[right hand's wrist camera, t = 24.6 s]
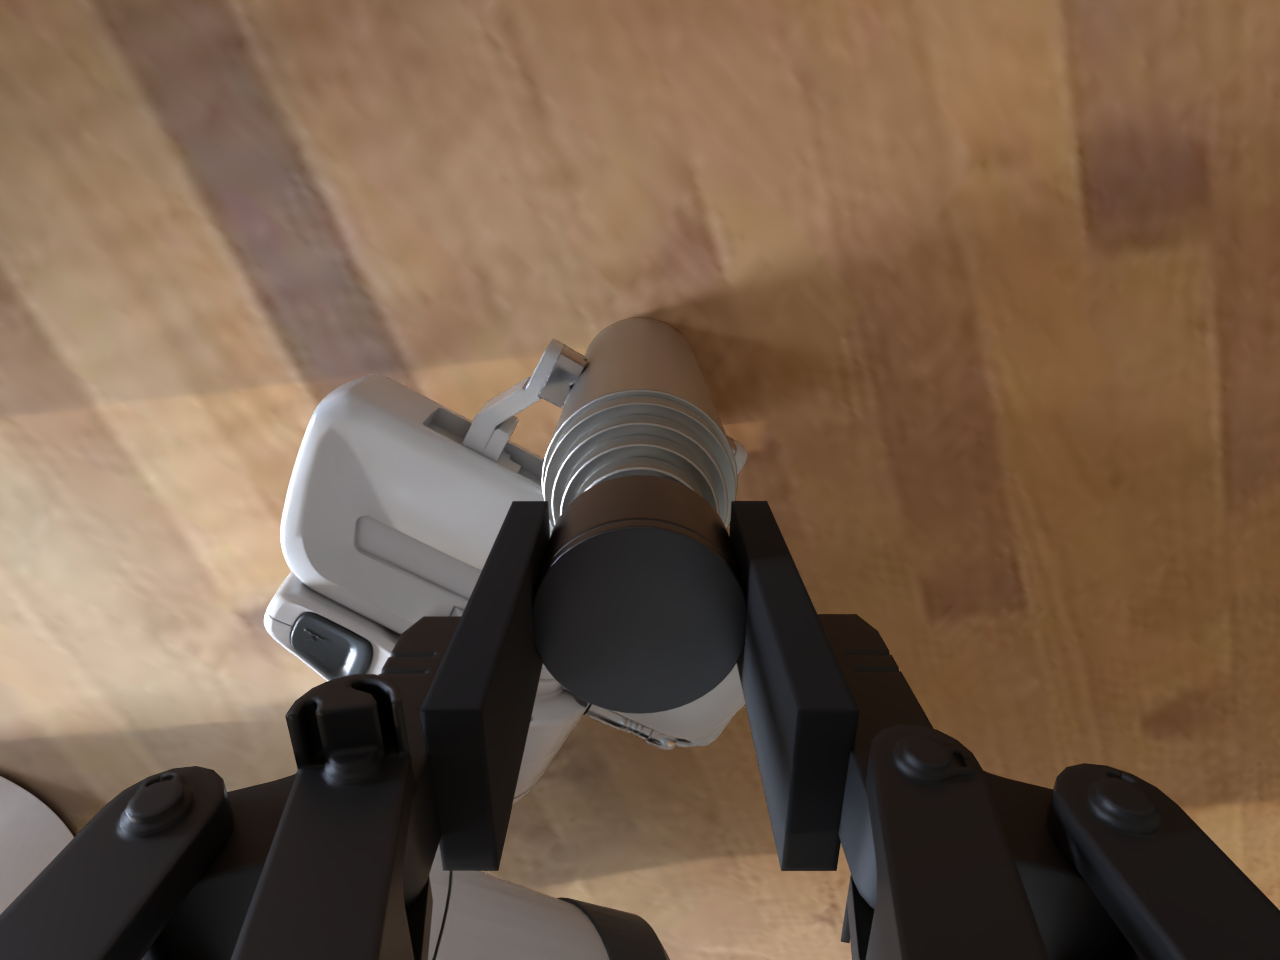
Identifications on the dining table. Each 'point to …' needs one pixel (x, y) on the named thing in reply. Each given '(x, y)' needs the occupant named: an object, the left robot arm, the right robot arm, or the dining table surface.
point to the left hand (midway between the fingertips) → (650, 395)
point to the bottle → (640, 420)
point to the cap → (639, 597)
